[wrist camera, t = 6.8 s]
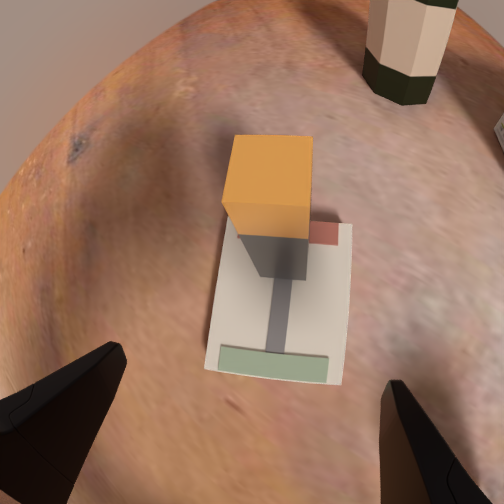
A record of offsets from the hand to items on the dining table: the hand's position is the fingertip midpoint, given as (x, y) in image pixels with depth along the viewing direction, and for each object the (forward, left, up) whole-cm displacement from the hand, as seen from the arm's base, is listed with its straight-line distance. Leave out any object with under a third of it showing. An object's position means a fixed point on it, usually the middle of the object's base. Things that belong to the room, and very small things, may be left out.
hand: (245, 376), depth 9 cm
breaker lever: (+5, +6, -10) cm, 12 cm away
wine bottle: (+27, +15, -13) cm, 34 cm away
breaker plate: (+3, +4, -12) cm, 13 cm away
